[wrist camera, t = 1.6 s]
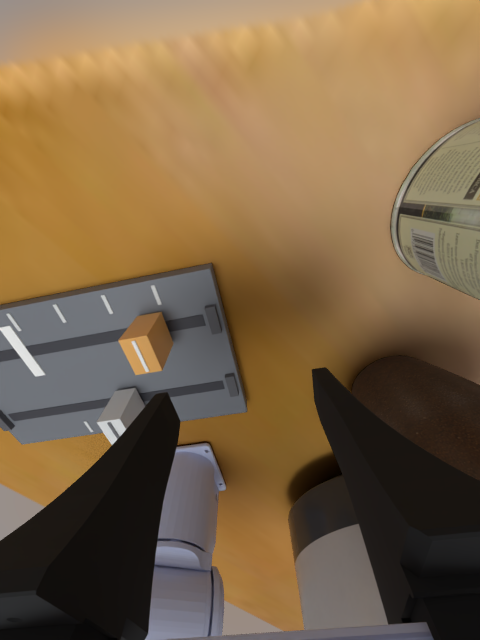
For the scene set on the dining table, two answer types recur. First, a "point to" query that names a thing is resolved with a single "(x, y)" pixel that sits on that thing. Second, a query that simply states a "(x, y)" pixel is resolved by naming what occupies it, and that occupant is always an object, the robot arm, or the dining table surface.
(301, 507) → the planter
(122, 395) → the grey fader knob
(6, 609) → the robot arm
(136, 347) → the orange fader knob
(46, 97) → the dining table surface
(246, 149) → the dining table surface
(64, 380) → the console
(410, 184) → the coffee can
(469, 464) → the plant pot
